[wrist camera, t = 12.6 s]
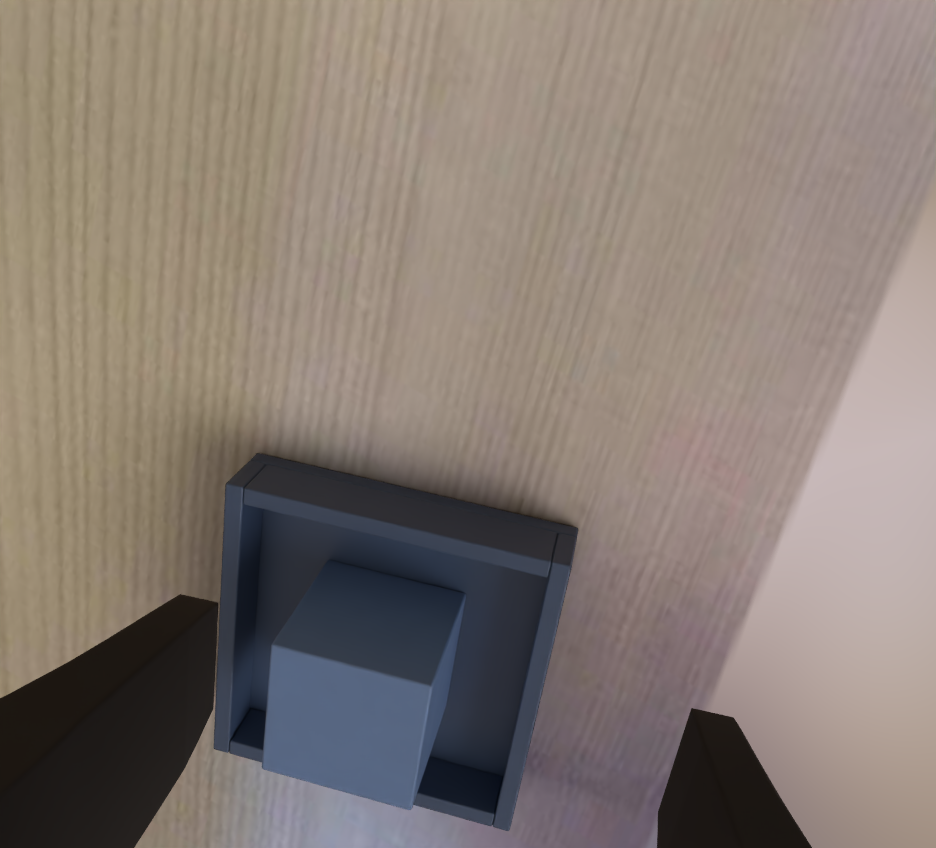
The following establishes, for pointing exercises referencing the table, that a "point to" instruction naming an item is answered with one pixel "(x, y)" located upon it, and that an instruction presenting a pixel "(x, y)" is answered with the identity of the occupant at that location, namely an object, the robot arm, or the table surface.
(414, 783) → the blue block
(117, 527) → the table surface
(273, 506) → the blue tray
